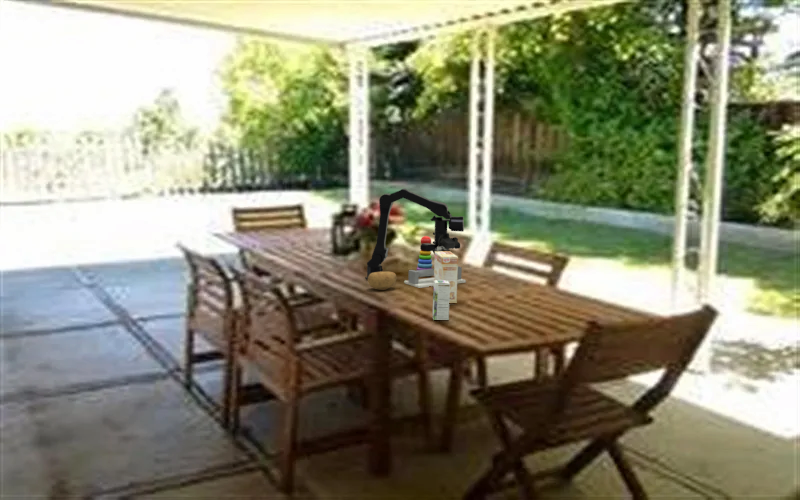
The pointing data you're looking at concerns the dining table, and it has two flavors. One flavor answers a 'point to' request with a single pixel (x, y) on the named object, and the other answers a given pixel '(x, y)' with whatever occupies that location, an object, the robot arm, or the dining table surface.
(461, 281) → the pipe rig
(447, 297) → the syrup box
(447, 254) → the coffeecake box
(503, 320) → the dining table surface
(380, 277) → the potato
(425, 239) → the stacking toy
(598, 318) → the dining table surface
